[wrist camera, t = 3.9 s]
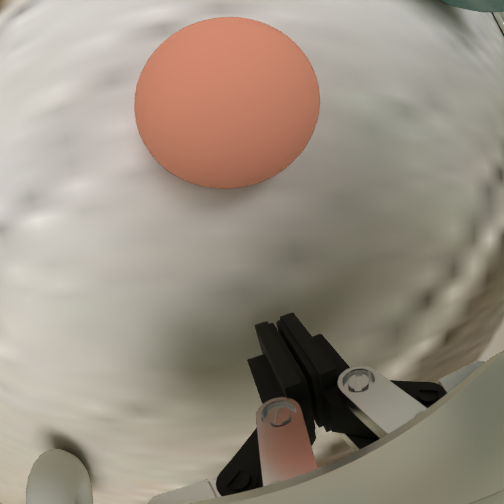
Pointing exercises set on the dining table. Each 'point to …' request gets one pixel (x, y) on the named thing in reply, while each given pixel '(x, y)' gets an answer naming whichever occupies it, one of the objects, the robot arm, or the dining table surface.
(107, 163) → the dining table surface
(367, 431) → the robot arm
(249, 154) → the ball
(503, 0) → the flower pot
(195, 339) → the dining table surface
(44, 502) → the donut
